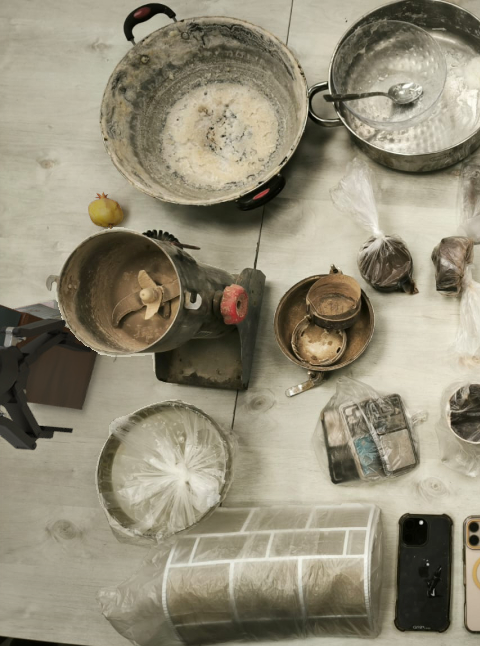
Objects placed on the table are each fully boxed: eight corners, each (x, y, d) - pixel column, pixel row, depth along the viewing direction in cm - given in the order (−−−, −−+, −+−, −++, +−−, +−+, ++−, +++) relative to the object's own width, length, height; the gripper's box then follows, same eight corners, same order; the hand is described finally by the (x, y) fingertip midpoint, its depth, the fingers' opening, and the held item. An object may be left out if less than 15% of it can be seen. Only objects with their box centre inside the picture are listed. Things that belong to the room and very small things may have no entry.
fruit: (121, 222, 123) (112, 183, 125) (87, 227, 121) (78, 188, 123) (130, 235, 130) (121, 198, 132) (97, 241, 127) (89, 203, 129)
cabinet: (101, 339, 123) (-25, 294, 90) (81, 409, 120) (-57, 390, 86) (58, 333, 123) (-84, 286, 90) (37, 404, 120) (-118, 382, 87)
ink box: (19, 316, 124) (-16, 304, 115) (69, 305, 125) (39, 292, 115) (20, 326, 123) (-15, 315, 114) (70, 315, 124) (40, 303, 115)
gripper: (-29, 468, 68) (79, 467, 89) (21, 279, 74) (112, 319, 94) (-90, 464, 68) (33, 463, 89) (-35, 274, 73) (68, 315, 94)
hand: (74, 389), depth 91 cm, fingers open, 13 cm apart
